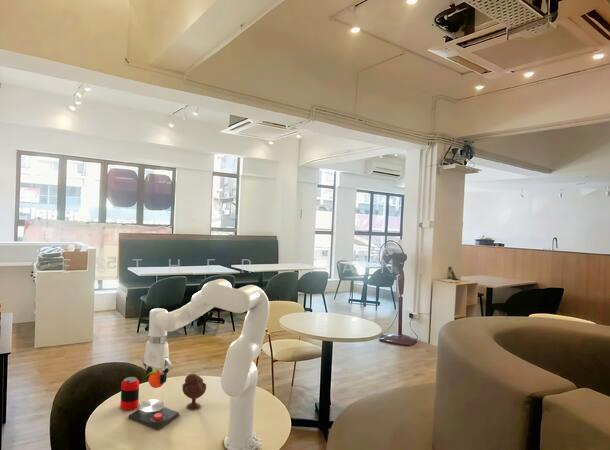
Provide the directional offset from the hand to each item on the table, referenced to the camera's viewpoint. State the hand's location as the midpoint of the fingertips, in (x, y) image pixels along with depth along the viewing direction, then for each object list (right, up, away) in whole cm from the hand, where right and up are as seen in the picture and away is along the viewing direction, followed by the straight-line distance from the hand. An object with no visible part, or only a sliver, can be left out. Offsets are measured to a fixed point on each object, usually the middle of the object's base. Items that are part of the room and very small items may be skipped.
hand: (156, 380), depth 155 cm
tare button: (+2, -13, -5) cm, 15 cm away
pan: (-3, -13, +3) cm, 13 cm away
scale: (-1, -16, +1) cm, 16 cm away
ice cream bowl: (+15, -17, +10) cm, 24 cm away
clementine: (0, -3, 0) cm, 3 cm away
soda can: (-14, -15, +8) cm, 22 cm away
